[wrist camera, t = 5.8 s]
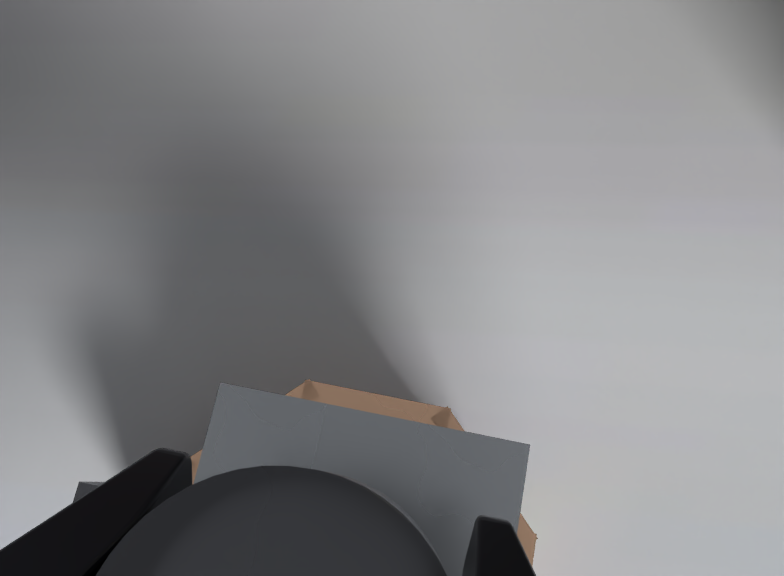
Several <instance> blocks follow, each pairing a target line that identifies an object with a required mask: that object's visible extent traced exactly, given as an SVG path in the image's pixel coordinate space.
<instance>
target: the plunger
mask: <svg viewBox="0 0 784 576" xmlns="http://www.w3.org/2000/svg"><path fill="white" fill-rule="evenodd" d="M96 576H447V575H446V572H445V570H444V568H443V565H442V563H441V561H440V558H439V557H438V555H437V553H436V551H435V549H434V548H433V546H432V544H431V542H430V540H429V539H428V538H427V536H426V535H425V534H424V532H423V531H422V529H421V528H420V527H419V525H418V524H417V523H416V522H415V521H414V520H413V519H412V518H411V517H410V515H409V514H408V513H407V512H406V511H405V510H404V509H403V508H402V507H400V506H399V505H398V504H397V503H395V502H394V501H393V500H392V499H390V498H389V497H388V496H386V495H385V494H383V493H382V492H380V491H378V490H377V489H375V488H373V487H372V486H370V485H367V484H365V483H363V482H361V481H358V480H356V479H354V478H351V477H347V476H343V475H340V474H336V473H332V472H326V471H320V470H315V469H308V468H301V467H293V466H257V467H250V468H242V469H237V470H233V471H229V472H226V473H222V474H218V475H215V476H212V477H210V478H207V479H205V480H202V481H200V482H198V483H195V484H193V485H190V486H189V487H187V488H185V489H183V490H182V491H180V492H178V493H176V494H175V495H173V496H171V497H169V498H168V499H166V500H165V501H164V502H162V503H161V504H160V505H158V506H157V507H156V508H154V509H153V510H152V511H150V512H149V513H148V514H146V515H145V516H144V517H143V518H142V519H141V520H140V521H139V522H138V523H137V524H136V525H135V526H134V527H133V528H132V529H131V530H130V531H129V532H128V533H127V534H126V535H125V536H124V537H123V539H122V540H121V541H120V542H119V543H118V545H117V546H116V547H115V548H114V549H113V551H112V552H111V553H110V554H109V556H108V557H107V559H106V560H105V562H104V564H103V565H102V567H101V568H100V570H99V571H98V573H97V574H96Z"/></svg>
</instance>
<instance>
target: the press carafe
mask: <svg viewBox="0 0 784 576" xmlns="http://www.w3.org/2000/svg"><path fill="white" fill-rule="evenodd" d="M529 448H530V445H529V444H524V443H519V442H514V441H510V440H505V439H500V438H495V437H490V436H485V435H480V434H475V433H470V432H465V431H464V430H463V428H462V427H461V426H460V424H459V423H458V421H457V420H456V418H455V417H454V415H453V414H452V412H451V409H450V408H448V407H446V408H445V407H440V406H435V405H429V404H424V403H419V402H414V401H409V400H404V399H399V398H394V397H389V396H384V395H379V394H374V393H369V392H364V391H359V390H354V389H349V388H344V387H339V386H334V385H329V384H324V383H319V382H314V381H311V380H310V379H308V380H305V382H304V383H302V384H301V385H299V386H298V387H296V388H295V389H293V390H292V391H290V392H289V393H287V394H286V395H281V394H276V393H271V392H266V391H261V390H256V389H251V388H246V387H241V386H236V385H231V384H226V383H221V382H220V386H219V389H218V393H217V397H216V401H215V404H214V408H213V412H212V416H211V420H210V423H209V427H208V431H207V435H206V438H205V442H204V446H203V449H202V450H200V451H199V452H197V453H196V454H194V455H193V456H191V460H192V485H193V484H195V483H198V482H200V481H202V480H205V479H207V478H210V477H212V476H215V475H218V474H222V473H226V472H229V471H233V470H237V469H242V468H250V467H257V466H293V467H301V468H308V469H315V470H320V471H326V472H332V473H336V474H340V475H343V476H347V477H351V478H354V479H356V480H358V481H361V482H363V483H365V484H367V485H370V486H372V487H373V488H375V489H377V490H378V491H380V492H382V493H383V494H385V495H386V496H388V497H389V498H390V499H392V500H393V501H394V502H395V503H397V504H398V505H399V506H400V507H402V508H403V509H404V510H405V511H406V512H407V513H408V514H409V515H410V517H411V518H412V519H413V520H414V521H415V522H416V523H417V524H418V525H419V527H420V528H421V529H422V531H423V532H424V534H425V535H426V536H427V538H428V539H429V540H430V542H431V544H432V546H433V548H434V549H435V551H436V553H437V555H438V557H439V558H440V561H441V563H442V565H443V568H444V570H445V572H446V575H447V576H462V573H463V567H464V562H465V558H466V554H467V550H468V546H469V542H470V539H471V535H472V531H473V527H474V523H475V520H476V518H477V517H478V516H480V515H486V516H491V517H496V518H501V519H505V520H508V521H509V522H510V523H511V524H512V525H513V527H514V529H515V531H516V533H517V536H518V538H519V540H520V542H521V544H522V546H523V548H524V551H525V553H526V555H527V557H528V559H529V561H530V563H531V566H532V564H533V557H534V550H535V542H536V539H538V538H537V537H536V535H537V534H535V533H534V532H533V531H532V529H531V528H530V527H529V525H528V524H527V522H526V521H525V519H524V518H523V516H522V515H521V513H520V510H521V503H522V496H523V490H524V483H525V476H526V469H527V462H528V455H529ZM103 483H104V482H79V484H78V487H77V491H76V494H75V497H74V500H73V503H74V502H75V501H77V500H78V499H80V498H81V497H83V496H84V495H86V494H87V493H89V492H90V491H92V490H94V489H95V488H97V487H98V486H100V485H101V484H103Z"/></svg>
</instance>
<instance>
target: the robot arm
mask: <svg viewBox="0 0 784 576" xmlns="http://www.w3.org/2000/svg"><path fill="white" fill-rule="evenodd" d="M190 485H192V460H191V457H190V456H189V454H187V453H185V452H180V451H175V450H170V449H165V448H159V449H156V450H154V451H152V452H151V453H149V454H147V455H146V456H144V457H143V458H141V459H140V460H138V461H137V462H135V463H134V464H132V465H131V466H129V467H127V468H126V469H124V470H123V471H121V472H120V473H118V474H117V475H115V476H114V477H112V478H110V479H109V480H107V481H106V482H104V483H103V484H101V485H100V486H98V487H97V488H95V489H94V490H92V491H90V492H89V493H87V494H86V495H84V496H83V497H81V498H80V499H78V500H77V501H75V502H74V503H72V504H70V505H69V506H67V507H66V508H64V509H63V510H61V511H60V512H58V513H57V514H55V515H53V516H52V517H50V518H49V519H47V520H46V521H44V522H43V523H41V524H40V525H38V526H37V527H35V528H33V529H32V530H30V531H29V532H27V533H26V534H24V535H23V536H21V537H20V538H18V539H16V540H15V541H13V542H12V543H10V544H9V545H7V546H6V547H4V548H3V549H1V550H0V576H96V574H97V573H98V571H99V570H100V568H101V567H102V565H103V564H104V562H105V560H106V559H107V557H108V556H109V554H110V553H111V552H112V551H113V549H114V548H115V547H116V546H117V545H118V543H119V542H120V541H121V540H122V539H123V537H124V536H125V535H126V534H127V533H128V532H129V531H130V530H131V529H132V528H133V527H134V526H135V525H136V524H137V523H138V522H139V521H140V520H141V519H142V518H143V517H144V516H145V515H146V514H148V513H149V512H150V511H152V510H153V509H154V508H156V507H157V506H158V505H160V504H161V503H162V502H164V501H165V500H166V499H168V498H169V497H171V496H173V495H175V494H176V493H178V492H180V491H182V490H183V489H185V488H187V487H189V486H190ZM462 576H536V574H535V572H534V570H533V568H532V566H531V563H530V561H529V559H528V557H527V555H526V553H525V551H524V548H523V546H522V544H521V542H520V540H519V538H518V536H517V533H516V531H515V529H514V527H513V525H512V524H511V523H510V522H509V521H508V520H505V519H501V518H496V517H491V516H486V515H480V516H478V517H477V518H476V520H475V523H474V527H473V531H472V535H471V539H470V542H469V546H468V550H467V554H466V558H465V562H464V567H463V573H462Z"/></svg>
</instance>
